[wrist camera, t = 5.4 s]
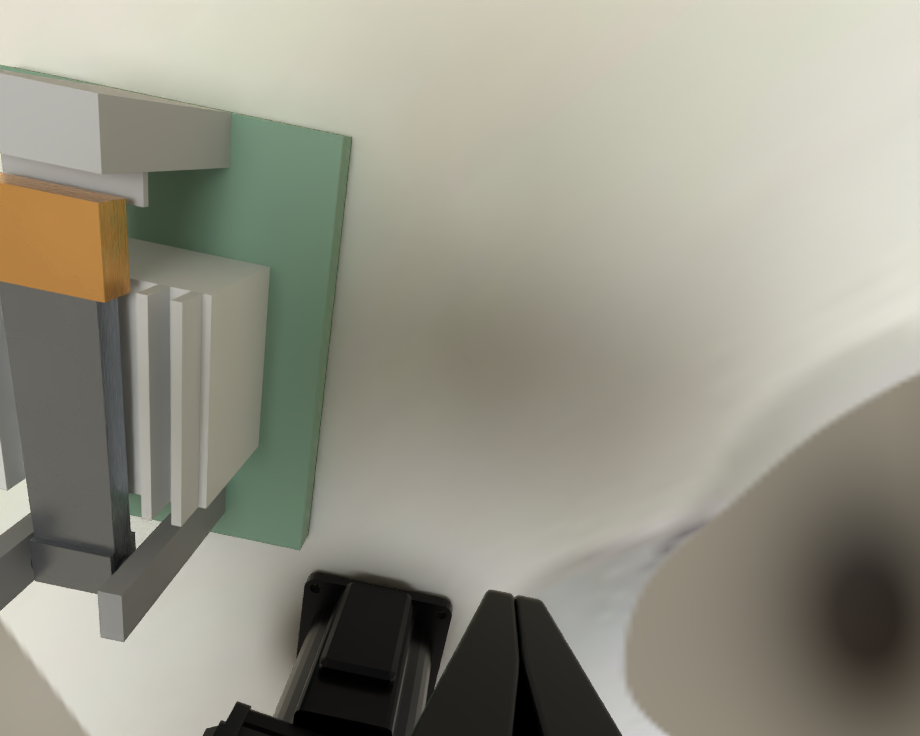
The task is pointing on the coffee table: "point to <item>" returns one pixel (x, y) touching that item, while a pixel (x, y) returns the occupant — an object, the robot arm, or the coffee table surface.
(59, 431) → the orange tipped gray lever
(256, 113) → the coffee table surface
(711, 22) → the coffee table surface
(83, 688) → the coffee table surface
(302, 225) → the heatsink board
